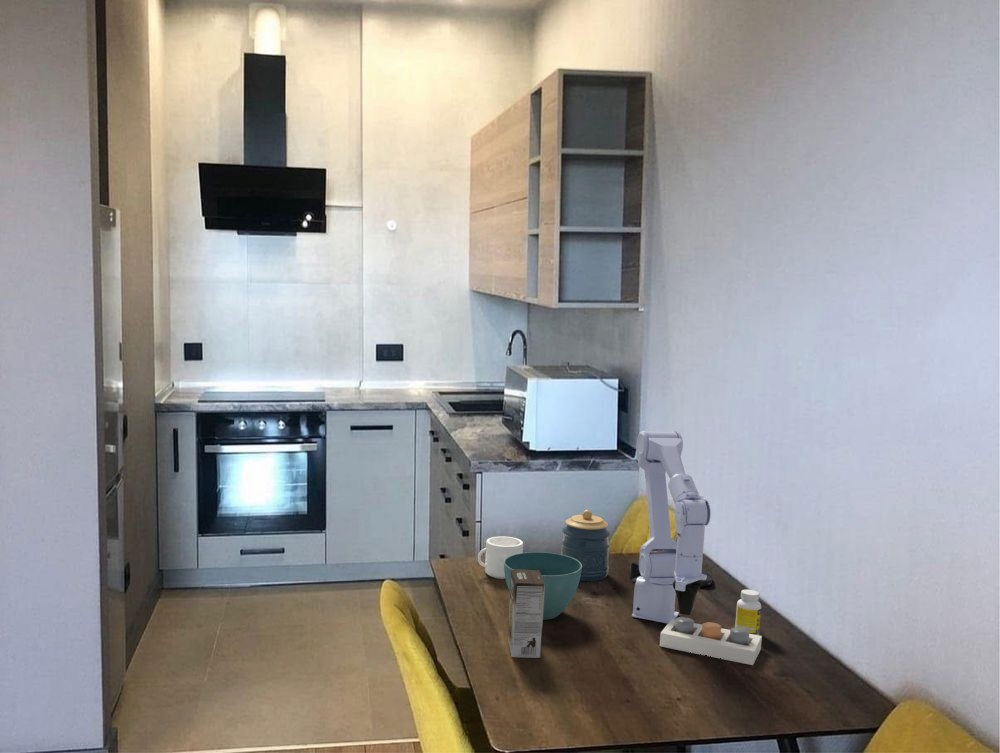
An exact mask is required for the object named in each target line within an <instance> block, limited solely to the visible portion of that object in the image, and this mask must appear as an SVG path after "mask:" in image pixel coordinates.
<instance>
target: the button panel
mask: <svg viewBox="0 0 1000 753" xmlns="http://www.w3.org/2000/svg"><path fill="white" fill-rule="evenodd" d="M675 620H676V618H675V619H671V620H670V622H669V623H668V624H667V623H666V626H665V627H664V628H663V629H662V630H661V631H660V633H659V635H660V636H659V647H661V648H662V647H663V648H667V649H672V650H677V651H682V652H685V653H690V652H691V654H697V655H700V654H701V655H700V656H705V655H707V656H706V657H710V656H711V657H710V658H716V659H720V658H721V659H720V660H726V661H730V662H735V663H740V664H746V665H751V666H754V664H755V662H756V660H757V658H758V656H759V654H760V652H761V650H762V640H763V639H762V638H763V636H762V635H760V634H759V635H754V634H749V644H748V646H746V645H741V644H736V643H731V642H729V641H730V629H727V628H722V627H721V638H720V640H715V639H710V638H705V637H702V626H703V623H702V624H700V623H695V622H694V628H693V635H690V634H685V633H680V632H675Z"/></svg>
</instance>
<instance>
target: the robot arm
mask: <svg viewBox="0 0 1000 753" xmlns="http://www.w3.org/2000/svg"><path fill="white" fill-rule="evenodd" d="M635 447H636V458H637V462H638V463H637V464H638V467H639V468H641V469H643V470H644V478H645V489H646V490H645V491H646V502H647V513H648V525H649V526H648V528H649V539H648V540H647V541H645V543H644V544H642V545H641V547H640V548H639V560H638V562H639V571H640V574H641V576H642V577H641V576H639V577H638V578H637V580H636V583H634V589H633V606H632V614H631V617H632V618H638V619H640V620H641V619H643V620H648V621H653V622H658V623H663V624H666V625H667V624H668V623H669V622H670V620H671V619H676V618H678V616H679V615H684V616H690V615H691V613H692V610H693V607H694V603H695V600H696V597H697V594H698V592H699V589H700V588H701V587H702V586H701V585H702V582H701V581H698V580H706V578H707V575H705V574H702V570H703V558H704V557H703V556H704V544H705V542H704V540H705V529H706V526H708V525H709V524H710V521H711V515H712V513H711V512H712V511H711V506H710V504H709V500H708V499H706V498H704V496H701V495H700V493H699V491H698V488H697V485H696V484H695V481H694V480H693V477H692V476H691V475H689V474H686V472H685V467H684V465H683V461H682V457H681V456H682V453H683V447H684V441H683V437H682V435H681V433H680V432H679V431H676V430H674V431H648V430H647V431H646V430H640V432H639V433H638V435H637V439H636V444H635ZM666 474H667V476H668V478H669V481H668V482H667V476H666ZM667 489H668V490H669V492H670V495H671V498H672V500H673V503H674V505H675V507H674V519H675V531H676V533H677V535H676V536H677V538H676V540H674V539H673V538H672V535H671V523H670V512H669V509H670V508H669V502H668V501H669V500H668V490H667ZM676 597H677V603H678V610H679V611H675V610H676V609H675V607H676Z"/></svg>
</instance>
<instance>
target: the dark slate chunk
mask: <svg viewBox="0 0 1000 753" xmlns="http://www.w3.org/2000/svg"><path fill="white" fill-rule="evenodd" d="M629 566H630V568H629V579H631V581H632V582H633V583H634V584H636V580H637V578H638V577H639V576H641V574H640V571H639V561H632V562H630V564H629ZM702 574H705V575H707V578H706V580H698V581H701V582H702V585H701V586H700V587H706V586H710V585H711V584H712V583H713V580H714V578H713V576H712V575H711V573H709V572H708V571H707V570H705V569H702ZM641 577H642V576H641Z"/></svg>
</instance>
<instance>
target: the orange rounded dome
mask: <svg viewBox="0 0 1000 753" xmlns="http://www.w3.org/2000/svg"><path fill="white" fill-rule="evenodd" d="M702 625H703V626H702V637H705V638H710V639H715V640H720V638H721V628H722V625H721V624H719V623H716V622H712V621H711V622H709V621H707V622H704V623H702Z"/></svg>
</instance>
